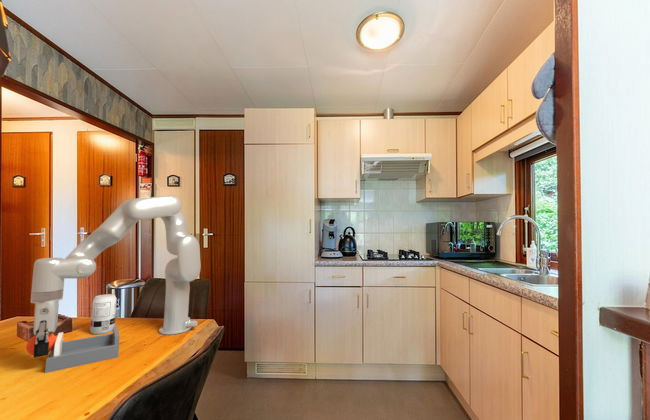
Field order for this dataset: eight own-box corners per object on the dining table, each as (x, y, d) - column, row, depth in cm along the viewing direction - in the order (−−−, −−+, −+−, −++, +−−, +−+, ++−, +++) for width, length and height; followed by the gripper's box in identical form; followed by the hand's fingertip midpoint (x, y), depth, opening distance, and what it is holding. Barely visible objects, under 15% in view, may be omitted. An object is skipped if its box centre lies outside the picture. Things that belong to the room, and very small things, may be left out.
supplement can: (85, 333, 117) (88, 297, 118) (105, 327, 125) (108, 293, 126) (98, 335, 115) (101, 298, 116) (118, 329, 123) (121, 294, 124)
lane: (115, 343, 108) (117, 325, 108) (118, 357, 96) (119, 336, 97) (51, 355, 96) (52, 335, 97) (45, 372, 85) (47, 349, 85)
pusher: (61, 351, 97) (63, 332, 98) (58, 364, 88) (60, 342, 88) (56, 352, 96) (58, 332, 97) (52, 365, 87) (54, 343, 88)
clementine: (42, 349, 94) (43, 327, 94) (64, 348, 95) (65, 327, 95) (18, 360, 86) (20, 336, 87) (42, 359, 87) (44, 336, 87)
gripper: (60, 299, 87) (55, 358, 86) (65, 289, 100) (61, 340, 99) (25, 303, 82) (19, 365, 81) (35, 292, 96) (30, 345, 94)
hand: (42, 351), depth 90 cm, fingers closed on clementine, 7 cm apart
